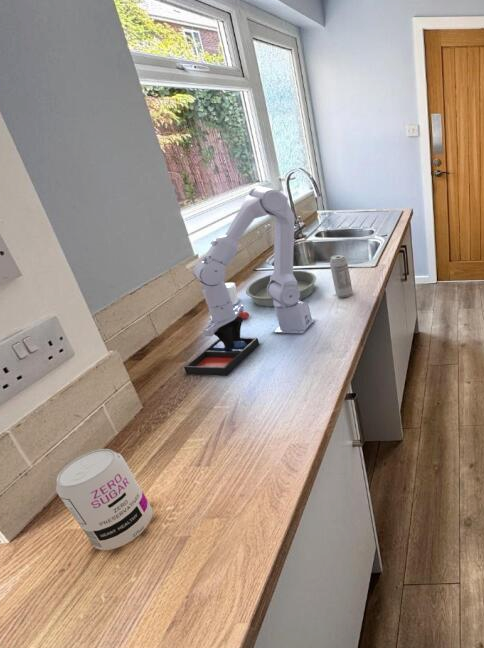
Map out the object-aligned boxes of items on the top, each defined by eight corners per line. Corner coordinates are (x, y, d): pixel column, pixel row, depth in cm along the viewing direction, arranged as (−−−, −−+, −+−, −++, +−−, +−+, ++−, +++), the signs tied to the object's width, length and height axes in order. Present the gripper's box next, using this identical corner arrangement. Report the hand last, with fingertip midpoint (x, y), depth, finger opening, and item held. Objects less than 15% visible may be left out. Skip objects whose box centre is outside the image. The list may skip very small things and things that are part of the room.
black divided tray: (259, 344, 121) (257, 337, 120) (227, 375, 108) (224, 368, 106) (223, 343, 122) (220, 336, 121) (186, 374, 109) (183, 366, 108)
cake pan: (241, 313, 140) (237, 302, 138) (257, 285, 162) (254, 275, 160) (315, 303, 145) (312, 291, 143) (320, 277, 167) (318, 267, 165)
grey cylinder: (350, 289, 154) (343, 252, 148) (355, 295, 149) (348, 257, 143) (334, 293, 151) (326, 256, 145) (338, 299, 147) (331, 261, 140)
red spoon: (252, 316, 138) (250, 309, 137) (246, 321, 135) (244, 314, 134) (227, 315, 139) (225, 309, 138) (220, 320, 136) (218, 314, 135)
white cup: (231, 307, 145) (225, 290, 142) (215, 306, 146) (209, 289, 143) (244, 299, 151) (239, 282, 148) (228, 298, 152) (223, 281, 149)
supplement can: (117, 509, 73) (79, 448, 66) (164, 504, 73) (131, 443, 67) (82, 555, 65) (35, 492, 59) (135, 549, 66) (94, 486, 59)
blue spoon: (250, 345, 119) (247, 338, 118) (243, 352, 116) (240, 345, 115) (221, 344, 120) (218, 337, 119) (213, 351, 117) (210, 344, 116)
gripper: (223, 291, 118) (236, 331, 124) (186, 315, 105) (203, 358, 111) (245, 291, 117) (257, 331, 123) (211, 315, 104) (227, 359, 110)
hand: (233, 344), depth 117 cm, fingers closed on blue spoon, 2 cm apart
